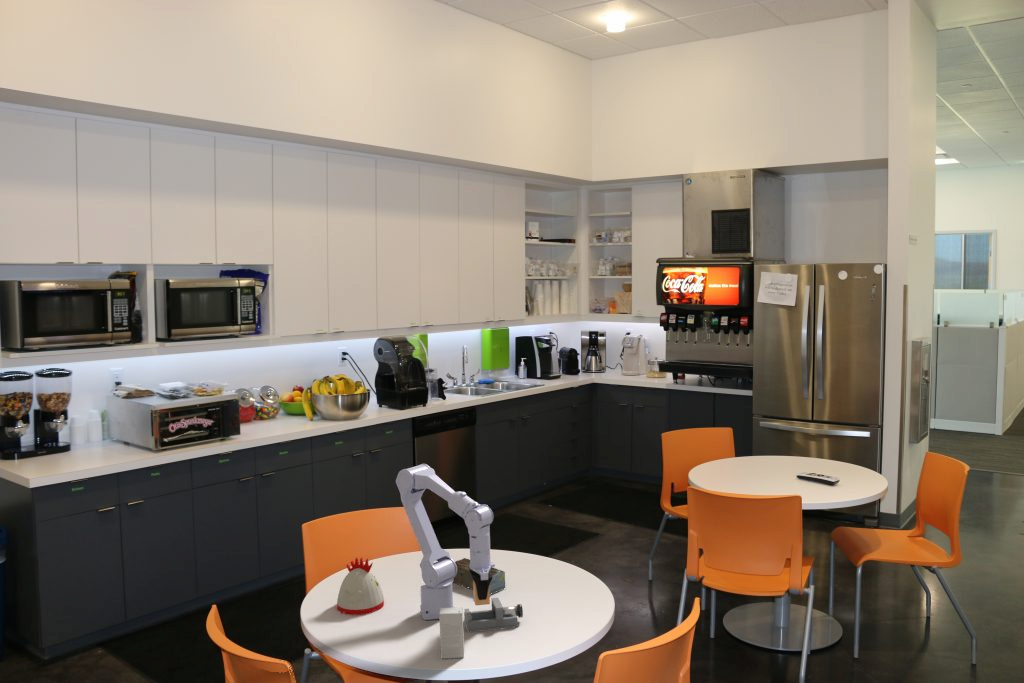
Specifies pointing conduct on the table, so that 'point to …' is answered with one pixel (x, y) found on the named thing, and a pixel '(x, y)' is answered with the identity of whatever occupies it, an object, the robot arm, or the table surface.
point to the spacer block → (476, 599)
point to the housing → (488, 618)
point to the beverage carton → (466, 578)
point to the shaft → (513, 611)
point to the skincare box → (451, 632)
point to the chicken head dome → (360, 590)
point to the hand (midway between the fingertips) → (481, 596)
